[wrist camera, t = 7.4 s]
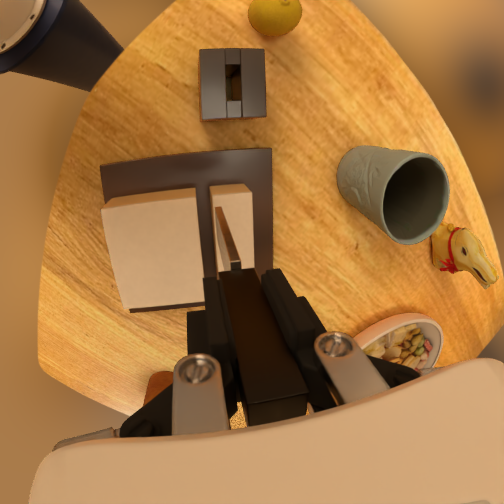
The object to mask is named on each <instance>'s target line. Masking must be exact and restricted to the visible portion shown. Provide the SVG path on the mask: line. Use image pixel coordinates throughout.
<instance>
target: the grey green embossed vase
mask: <svg viewBox="0 0 504 504" xmlns="http://www.w3.org/2000/svg"><path fill="white" fill-rule="evenodd" d="M337 184H338V188H339V191H340V193H341V194H342V196H343V197H344V199H345V200H346V201H347V202H348V203H350V204H351V205H352V206H354V207H355V208H357V209H358V210H359V211H360V212H361V213H362V214H364V215H365V216H366V217H367V218H368V219H369V220H371V221H372V222H373V223H374V224H376V225H377V226H378V227H379V228H380V229H381V230H382V231H383V232H385V233H386V234H387V235H388V236H389V237H390V238H391V239H392V240H394V241H395V242H397V243H400V244H404V245H412V244H417V243H419V242H422V241H423V240H425V239H426V238H428V237H429V236H430V235H431V234H432V233H433V232H434V231H435V230H436V229H437V228H438V226H439V225H440V223H441V222H442V220H443V218H444V216H445V213H446V210H447V207H448V203H449V194H450V189H449V181H448V176H447V173H446V171H445V169H444V167H443V165H442V164H441V163H440V162H439V160H438V159H436V158H435V157H434V156H432V155H430V154H426V153H420V152H413V151H406V150H390V149H388V148H382V147H377V146H366V145H364V146H358V147H355V148H353V149H352V150H350V151H349V152H347V153H346V155H345V156H344V157H343V158H342V160H341V162H340V164H339V167H338V171H337Z"/></svg>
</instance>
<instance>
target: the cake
mask: <svg viewBox="0 0 504 504" xmlns="http://www.w3.org/2000/svg"><path fill="white" fill-rule="evenodd" d="M100 212H101V218H102V223H103V228H104V233H105V238H106V242H107V247H108V251H109V256H110V260H111V264H112V268H113V272H114V276H115V280H116V284H117V287H118V291H119V295H120V298H121V302H122V305H123V308H124V309H131V308H143V307H154V306H164V305H174V304H184V303H193V302H203V301H205V300H204V290H203V279H202V278H204V270H203V261H202V252H201V242H200V233H199V222H198V212H197V200H196V189H195V188H187V189H177V190H168V191H160V192H152V193H144V194H137V195H129V196H122V197H116V198H112V199H111V200H110V201H108V202H107V203H106V204H105V205H104V206H103V207H102V208H101V209H100Z"/></svg>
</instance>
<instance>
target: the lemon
mask: <svg viewBox="0 0 504 504" xmlns="http://www.w3.org/2000/svg"><path fill="white" fill-rule="evenodd" d="M301 16H302V7H301V4H300V2H299V0H253V1H252V3H251V4H250V7H249V10H248V18H249V21H250V23H251V25H252V27H253V28H254V29H255V30H256V31H258V32H260V33H261V34H264V35H268V36H280V35H283V34H286V33H288V32H290V31H292V30H293V29H294V28H295V27H296V26H297V25H298V23H299V21H300V19H301Z"/></svg>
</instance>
